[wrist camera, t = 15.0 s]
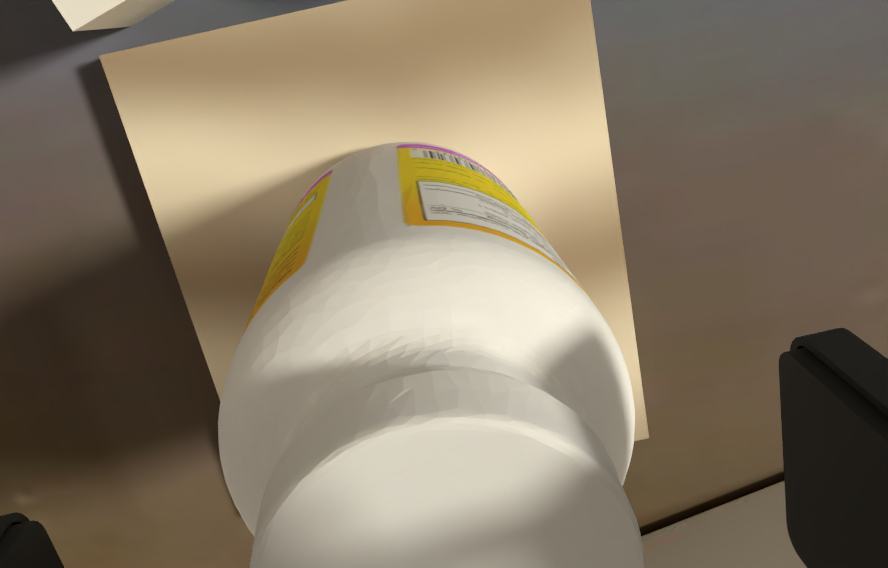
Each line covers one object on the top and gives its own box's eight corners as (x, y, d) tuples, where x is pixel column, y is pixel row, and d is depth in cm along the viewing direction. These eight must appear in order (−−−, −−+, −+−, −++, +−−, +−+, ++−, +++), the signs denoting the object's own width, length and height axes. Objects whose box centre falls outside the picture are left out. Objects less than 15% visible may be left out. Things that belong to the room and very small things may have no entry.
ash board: (112, 53, 20) (99, 55, 19) (573, -50, 20) (583, -53, 19) (268, 505, 24) (263, 525, 24) (638, 421, 25) (649, 437, 24)
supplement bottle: (330, 396, 22) (267, 858, 10) (248, 177, 20) (43, 436, 8) (555, 333, 22) (761, 723, 10) (498, 105, 20) (677, 255, 8)
